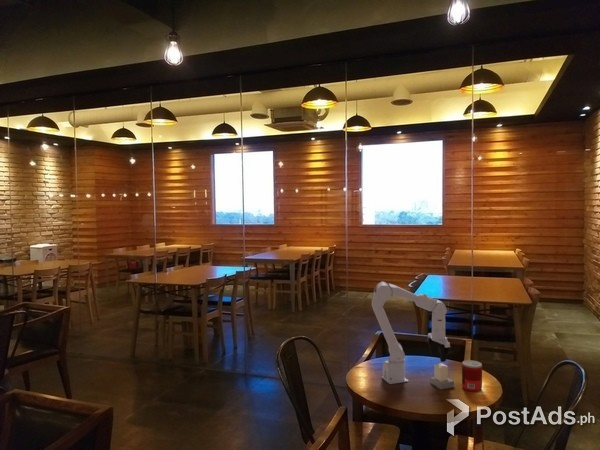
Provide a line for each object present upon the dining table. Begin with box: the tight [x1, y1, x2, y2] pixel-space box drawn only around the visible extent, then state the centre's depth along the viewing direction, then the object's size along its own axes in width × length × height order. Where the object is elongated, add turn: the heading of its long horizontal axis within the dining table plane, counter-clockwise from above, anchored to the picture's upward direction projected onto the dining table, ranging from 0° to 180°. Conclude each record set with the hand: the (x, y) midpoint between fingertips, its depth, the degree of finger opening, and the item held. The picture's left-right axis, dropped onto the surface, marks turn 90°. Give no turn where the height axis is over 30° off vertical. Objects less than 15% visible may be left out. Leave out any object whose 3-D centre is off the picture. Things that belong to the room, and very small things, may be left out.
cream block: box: [433, 362, 449, 382], centre depth 191 cm, size 4×4×6 cm
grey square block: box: [429, 376, 455, 390], centre depth 192 cm, size 7×7×3 cm
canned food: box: [461, 359, 483, 393], centre depth 187 cm, size 8×8×11 cm
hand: (438, 358), depth 196 cm, fingers open, 7 cm apart
